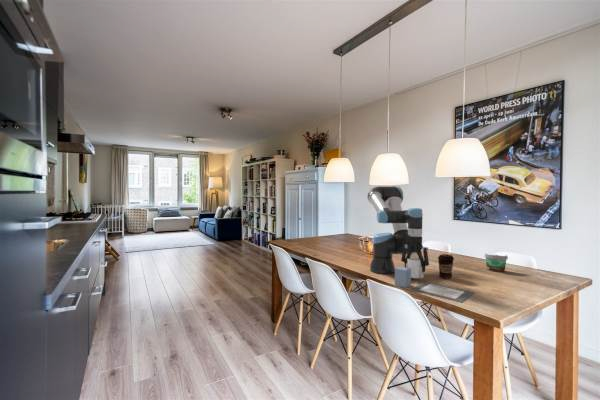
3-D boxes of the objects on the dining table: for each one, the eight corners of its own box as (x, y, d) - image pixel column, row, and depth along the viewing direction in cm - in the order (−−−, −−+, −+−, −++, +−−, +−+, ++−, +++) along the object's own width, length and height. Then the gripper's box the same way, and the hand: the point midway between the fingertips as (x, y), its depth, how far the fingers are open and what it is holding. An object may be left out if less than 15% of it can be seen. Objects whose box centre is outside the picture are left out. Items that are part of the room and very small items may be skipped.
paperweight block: (394, 285, 154) (394, 268, 154) (400, 282, 158) (400, 266, 158) (405, 287, 150) (405, 270, 150) (410, 285, 154) (410, 268, 154)
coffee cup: (456, 280, 162) (456, 257, 161) (440, 279, 163) (440, 256, 163) (451, 275, 170) (451, 253, 170) (436, 275, 172) (436, 253, 172)
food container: (486, 271, 179) (486, 255, 179) (484, 268, 185) (484, 253, 184) (510, 273, 174) (510, 257, 174) (507, 270, 180) (507, 254, 180)
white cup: (415, 279, 158) (415, 261, 158) (404, 275, 165) (404, 258, 165) (425, 277, 162) (425, 259, 162) (413, 273, 169) (414, 256, 169)
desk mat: (410, 289, 147) (410, 289, 147) (425, 281, 159) (425, 281, 159) (462, 302, 130) (462, 302, 130) (474, 292, 142) (474, 292, 142)
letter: (419, 289, 146) (419, 289, 146) (429, 283, 155) (429, 283, 155) (455, 298, 134) (455, 298, 134) (464, 291, 143) (464, 291, 143)
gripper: (394, 234, 168) (394, 273, 169) (430, 238, 153) (430, 281, 154) (401, 233, 173) (400, 271, 174) (436, 237, 158) (435, 278, 159)
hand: (414, 276), depth 164 cm, fingers closed on white cup, 7 cm apart
